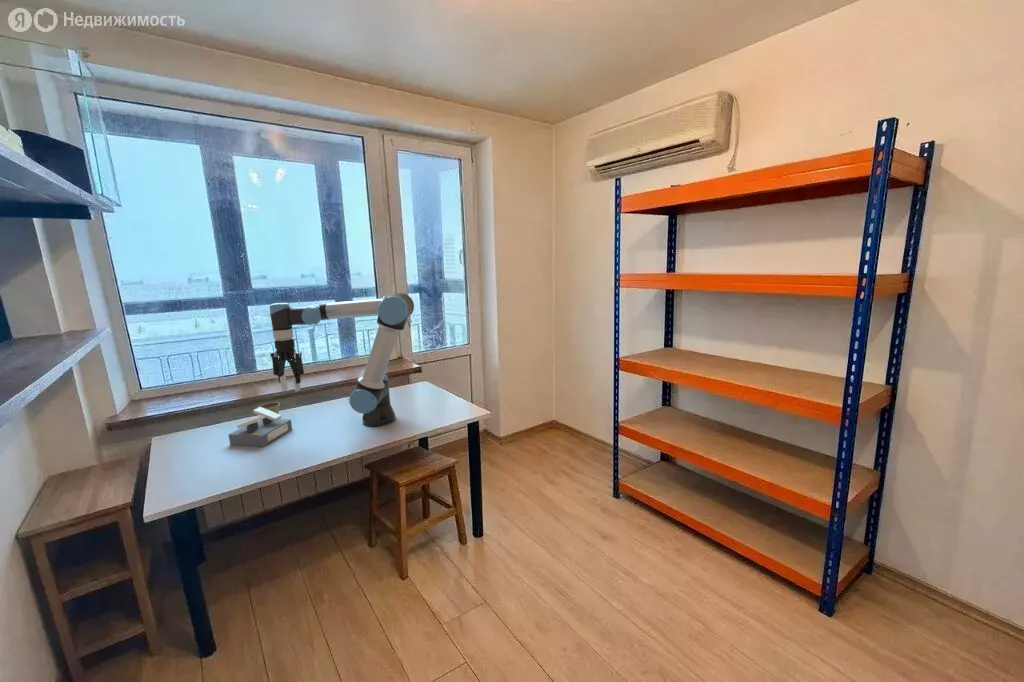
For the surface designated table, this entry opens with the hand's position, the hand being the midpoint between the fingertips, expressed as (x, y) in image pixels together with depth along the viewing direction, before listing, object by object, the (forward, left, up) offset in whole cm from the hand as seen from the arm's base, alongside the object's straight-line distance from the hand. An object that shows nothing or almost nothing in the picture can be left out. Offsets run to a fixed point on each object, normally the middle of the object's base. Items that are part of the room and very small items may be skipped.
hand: (291, 390), depth 181 cm
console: (+14, +5, -21) cm, 26 cm away
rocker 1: (+14, +9, -12) cm, 21 cm away
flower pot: (+23, -12, -21) cm, 33 cm away
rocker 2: (+14, 0, -12) cm, 19 cm away
